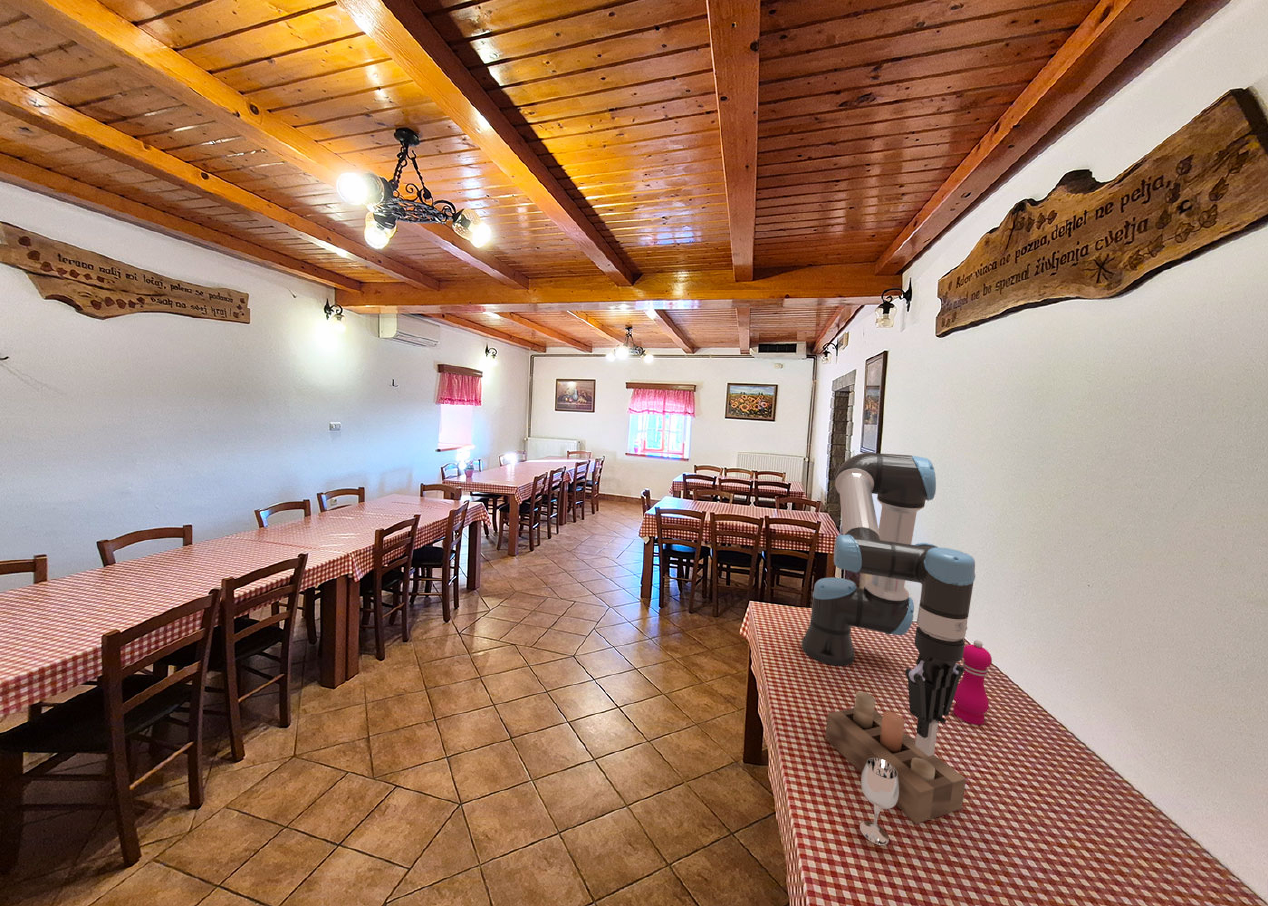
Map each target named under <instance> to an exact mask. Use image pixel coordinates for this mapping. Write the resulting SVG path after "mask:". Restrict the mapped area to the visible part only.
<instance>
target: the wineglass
mask: <svg viewBox="0 0 1268 906" xmlns="http://www.w3.org/2000/svg"><path fill="white" fill-rule="evenodd" d="M860 777H861V778H860V787H861V790H862V793H863V795H864V797H865V798H866V799H867V801H869V803H871V804H872V805H873V811H874V812H873V813H874V819H873V821H870V820H864V821H861V823H860V824H859V830H860V832H861V833H862V835H863V837H865V839H867V840H868V841H869V842H871V843H873V844H875V845H878V846H886V845H887V844H889V841H890V839H889V835H888V833H887V832H886V830H885V829H884V828H883V827H881V826H880V825H879V824H878V818H879V815H880V812H881V809H883V810H889V809H892V808H894V807H895V806H896V804H897V801H898V799H899V779H898V773H897V771H896V769H895V768H894V767H893V766H892V765H891V764H890V763H888V762H886V761H884V760H882V759H879V758H869V759H868V760H867V762H866V764H865V766H864V769H863V772H862V773H861V776H860Z"/></svg>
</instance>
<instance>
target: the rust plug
mask: <svg viewBox="0 0 1268 906" xmlns="http://www.w3.org/2000/svg"><path fill="white" fill-rule="evenodd" d="M882 716H883V720H882V728H881V736H880V744H881V745H882V746H883V747H884V748H886V749H887V750H889V751H892V752H900V751H901V746H902V738H903V732H904V730H905V729H904V728H905V722H906V721H905V719H904V718H903V717H902V716H901V715H900V714H897V713H895V712H892V711H884V712H883V714H882Z"/></svg>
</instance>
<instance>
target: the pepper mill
mask: <svg viewBox="0 0 1268 906" xmlns="http://www.w3.org/2000/svg"><path fill="white" fill-rule="evenodd" d="M983 645H984V644H983V642H982V641H981V640H978V639H975V640H974V641H973V644H966V645H964V652H963V658H962V665H961V666H962V667H964V672H963V674H962V677H961V679H960V680H959V683H958V686H957V689H956V693H955V696H954V699H953V702H955V703H954V704H953V710H952V711H953V713H954V715H955V717H957V718H958V719H960V720H962V721H964V722H965V723H968V724H971V725H975V726H983V725H984V723H985V719H986V716H985V713H987V712H988V711H989V707H990V702H989V697H988V695H987V693H986V689H985V685H984V684H985V677H986V676H987V675H988V671H989V670H988V668H989V667H990V666H991V665H992V660H993V659H992V655H991V653H990V652H989V651H988V650H987V649H986V648H984V647H983Z"/></svg>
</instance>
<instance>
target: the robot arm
mask: <svg viewBox="0 0 1268 906" xmlns="http://www.w3.org/2000/svg"><path fill="white" fill-rule="evenodd" d="M935 471H936V470H935V467H934V465H933V463H932V461H931V460H930V459H929V458H927V457H921V456H918V455H917V456H916V455H912V454H911V455H910V454H908V455H907V454H894V453H878V452H862V453H859V454H856V455H853V456H852V457H850V458H848V459H847V460H845V461H844V462H842V464H841V465H840V467H838V469H837V471H836V474H835V477H834V485H835V489H836V491H837V493H838V494H839V498H840V499H839V500H840V514H841V525H842V526H841V527H842V534H838V535H837V536H836V537H835V540H834V545H833V546H834V547H833V563H834V564H833V565H834V566H835V568H837V569H840V570H845V571H849V572H852V573H856V574H857V573H859V574H865V575H870V576H871V577H870V579H869V580H866V581H865V582H864V585H863V588H861V587H858V586H857V585H856V583H855V581H852V580H850V579H846V578H842V577H824V578H823V577H822V578H820V579H818V580H817V581H816V582H815V583H814V587H813V592H812V603H811V612H810V622H809V625H808V627H807V629H806V631H805V634H804V636H803V638H802V640H801V641H802V642H801V649H802V651H803V652H804V654H806V655H807V656H809V657H810V658H812V659H814V660H815V661H818V662H820V663H823V664H827V665H832V666H836V667H837V666H838V667H839V666H841V667H842V666H843V667H846V666H850V665H852V664H854V662H855V650H854V647H853V646H854V645H853V640H852V636H851V635H852V634H851V633H852V627H855V628H859V629H864V630H867V631H868V630H869V631H873V632H879V633H882V634H885V635H893V636H904V635H906V634H907V633H908V632H909V630H910V629H911V626H912V623H913V621H914V611H915V605H914V600H913V598H912V597H910V594H909V591H908V590H907V589H906V587H905V584H906V583H905V582H906V581H907V582H913V583H919V584H920V585H921V591H920V600H919V604H918V605H919V606H918V612H917V618H916V619H917V620H916V624H917V627H916V628H915V635H914V636H915V637H914V646H915V648H916V650H917V651H918V653H919V654H918V656H917V658H916V661H915V662H916V663H915V665H916V666H915V667H914V668H913V669H912V668H911V669H910V668H909V667H907V668H906V669H905V671H904V674H905V675H906V679H907V686H908V687H907V688H908V703H909V705H908V706H909V713H910V714H911V715H912V716H914V717H915V718H916V719H917V724H916V737H915V741H916V742H915V746H916V747H917V748H918V749H920V750H921V751H922V752H924V753H925V754H926V755H927V756H931V755H935V750H936V742H937V735H938V731H939V730H938V729H939V722H940V723H941V724H942V725H944V724H946V722H947V719H945V718H944V717H943V716H945V717H948V716H949V714H950V712H951V710H952V705H953V702H954V696H955V693H956V689H957V686H958V684H959V682H960V680H961V678H962V677H963V674H964V667H962V665H960V664H958V663H959V662H961V661H963V652H964V647H965V646H966V645H965V644H966V642H965V640H964V639H965V637H966V635H967V630H968V620H969V615H970V608H971V601H972V593H973V588H974V582H975V580H976V571H975V569H976V561H975V558H974V557H973V556H972V555H970V554H968V553H965V552H963V551H961V550H958V549H957V550H956V549H954V548H953V549H952V548H947V547H938V546H937V545H935V544H932V543H928V542H920V543H915V544H912V543H913V536H914V530H915V524H916V517H917V513H918V512H919V511H920V510H922V509H924V508H925V504H926V501H927V502H929V501H932V500H933V499H934V498H935V495H936V491H937V490H936V489H937V481H936V479H937V478H936V473H935ZM873 494H874V495H877V497H876V499H877V501H878V503H879V504H880V505H881V511H880V517H879V525H878V520H877V514H876V509H875V504H874V498H873Z"/></svg>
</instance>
